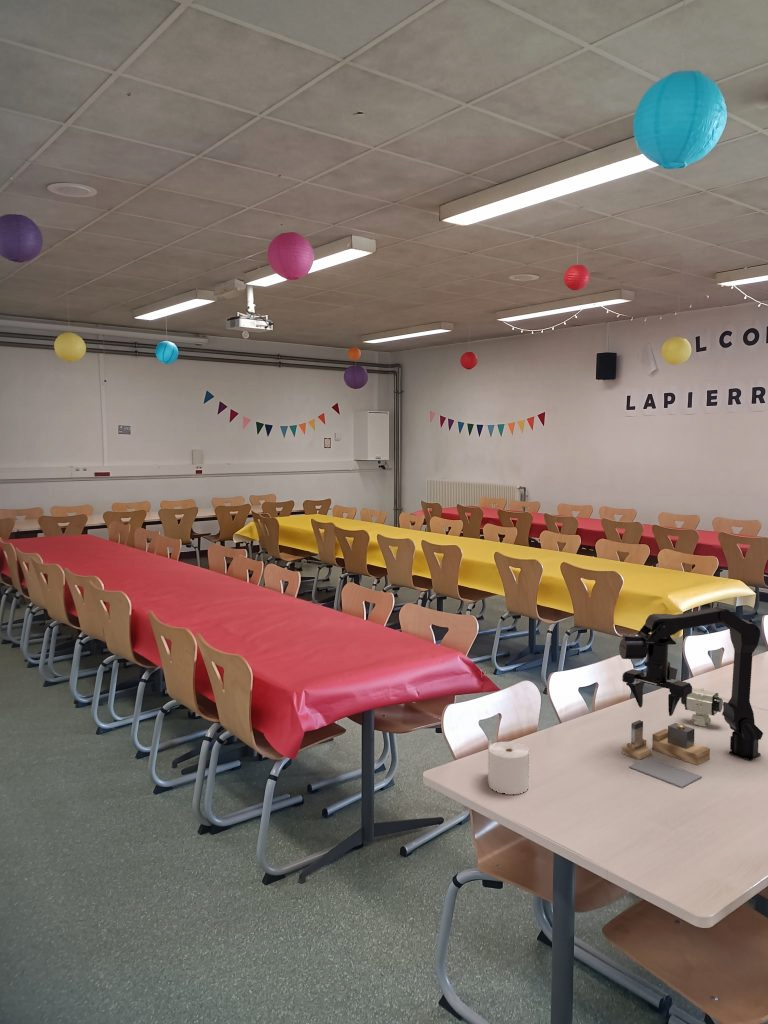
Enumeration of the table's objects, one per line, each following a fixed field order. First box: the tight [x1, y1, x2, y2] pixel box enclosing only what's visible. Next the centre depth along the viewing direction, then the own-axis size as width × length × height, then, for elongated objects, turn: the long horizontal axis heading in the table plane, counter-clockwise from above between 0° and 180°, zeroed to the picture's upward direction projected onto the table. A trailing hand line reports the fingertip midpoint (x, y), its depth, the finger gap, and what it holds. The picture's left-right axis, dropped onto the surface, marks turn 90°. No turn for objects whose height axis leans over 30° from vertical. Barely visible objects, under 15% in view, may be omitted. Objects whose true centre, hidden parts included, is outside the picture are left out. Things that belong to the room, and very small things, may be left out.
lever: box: [630, 719, 644, 748], centre depth 211 cm, size 1×4×8 cm, turn 128°
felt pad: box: [628, 756, 703, 789], centre depth 199 cm, size 16×10×1 cm, turn 38°
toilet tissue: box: [487, 738, 530, 795], centre depth 192 cm, size 11×12×10 cm
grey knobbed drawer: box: [667, 722, 695, 749], centre depth 211 cm, size 6×4×6 cm, turn 38°
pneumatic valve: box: [680, 687, 724, 728], centre depth 233 cm, size 6×12×12 cm, turn 51°
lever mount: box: [621, 738, 653, 761], centre depth 211 cm, size 6×7×4 cm
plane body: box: [651, 728, 711, 766], centre depth 211 cm, size 14×7×5 cm, turn 38°
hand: (655, 711), depth 209 cm, fingers open, 9 cm apart
